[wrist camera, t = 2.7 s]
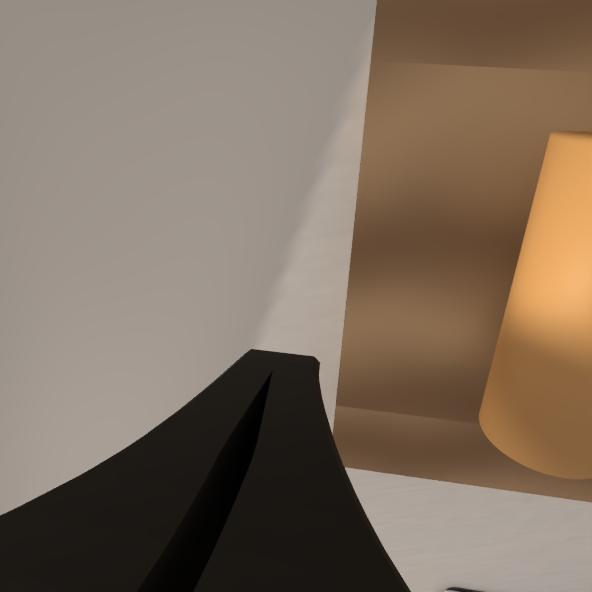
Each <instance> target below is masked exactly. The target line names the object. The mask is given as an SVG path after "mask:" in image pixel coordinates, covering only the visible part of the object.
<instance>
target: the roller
mask: <svg viewBox="0 0 592 592" xmlns="http://www.w3.org/2000/svg"><path fill="white" fill-rule="evenodd" d="M479 423H480V426H481V428H482V430H483V432H484V434H485V435H486V437H487V438H488V439H489V440H490V441H491V443H492V444H493V445H494V446H495V447H497V448H498V449H499V450H500V451H501V452H503V453H504V454H505V455H507V456H508V457H510V458H511V459H513V460H515V461H516V462H518V463H520V464H522V465H524V466H526V467H528V468H530V469H533V470H535V471H538V472H541V473H544V474H547V475H551V476H555V477H560V478H566V479H591V478H592V132H588V131H559V132H552V133H550V137H549V141H548V144H547V148H546V152H545V156H544V160H543V164H542V168H541V172H540V176H539V180H538V184H537V188H536V192H535V196H534V200H533V203H532V207H531V211H530V215H529V219H528V223H527V227H526V231H525V235H524V239H523V243H522V247H521V251H520V255H519V259H518V263H517V266H516V270H515V274H514V278H513V282H512V286H511V290H510V294H509V298H508V302H507V306H506V310H505V314H504V318H503V322H502V325H501V329H500V333H499V337H498V341H497V345H496V349H495V353H494V357H493V361H492V365H491V369H490V373H489V377H488V381H487V385H486V388H485V392H484V396H483V400H482V404H481V408H480V412H479Z"/></svg>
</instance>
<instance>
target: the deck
mask: <svg viewBox="0 0 592 592" xmlns="http://www.w3.org/2000/svg"><path fill="white" fill-rule="evenodd" d="M559 131H588V132H592V0H377V6H376V16H375V26H374V36H373V46H372V55H371V65H370V75H369V85H368V95H367V104H366V114H365V124H364V134H363V144H362V154H361V163H360V173H359V183H358V193H357V203H356V212H355V222H354V232H353V242H352V252H351V261H350V271H349V281H348V291H347V301H346V311H345V320H344V330H343V340H342V350H341V360H340V369H339V379H338V389H337V399H336V409H335V419H334V428H333V438H334V441H335V444H336V447H337V450H338V452H339V455H340V457H341V460H342V463H343V465H344V467H348V468H355V469H362V470H369V471H376V472H383V473H390V474H397V475H404V476H411V477H418V478H425V479H432V480H439V481H446V482H453V483H460V484H467V485H474V486H481V487H488V488H495V489H502V490H509V491H516V492H523V493H530V494H537V495H544V496H551V497H558V498H565V499H572V500H579V501H586V502H592V478H591V479H566V478H560V477H555V476H551V475H547V474H544V473H541V472H538V471H535V470H533V469H530V468H528V467H526V466H524V465H522V464H520V463H518V462H516V461H515V460H513V459H511V458H510V457H508V456H507V455H505V454H504V453H503V452H501V451H500V450H499V449H498V448H497V447H495V446H494V445H493V444H492V443H491V441H490V440H489V439H488V438H487V437H486V435H485V434H484V432H483V430H482V428H481V426H480V423H479V412H480V408H481V404H482V400H483V396H484V392H485V388H486V385H487V381H488V377H489V373H490V369H491V365H492V361H493V357H494V353H495V349H496V345H497V341H498V337H499V333H500V329H501V325H502V322H503V318H504V314H505V310H506V306H507V302H508V298H509V294H510V290H511V286H512V282H513V278H514V274H515V270H516V266H517V263H518V259H519V255H520V251H521V247H522V243H523V239H524V235H525V231H526V227H527V223H528V219H529V215H530V211H531V207H532V203H533V200H534V196H535V192H536V188H537V184H538V180H539V176H540V172H541V168H542V164H543V160H544V156H545V152H546V148H547V144H548V141H549V137H550V133H552V132H559Z"/></svg>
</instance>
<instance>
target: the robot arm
mask: <svg viewBox="0 0 592 592" xmlns="http://www.w3.org/2000/svg"><path fill="white" fill-rule="evenodd" d="M319 367H320V362H319V361H318V360H317V359H316V358H315V357H313V356H305V355H297V354H288V353H280V352H271V351H263V350H255V349H251V350H249V351H248V352H247V353H245V354H244V355H243V356H242V357H241V358H240V359H239V360H237V361H236V362H235V363H234V364H233V365H232V366H231V367H230V368H228V369H227V370H226V371H225V372H224V373H223V374H222V375H221V376H220V377H218V378H217V379H216V380H215V381H214V382H213V383H211V384H210V385H209V386H208V387H207V388H205V389H204V390H203V391H202V392H201V393H199V394H198V395H197V396H196V397H194V398H193V399H192V400H191V401H190V402H188V403H187V404H186V405H185V406H183V407H182V408H181V409H180V410H178V411H177V412H176V413H174V414H173V415H172V416H170V417H169V418H168V419H166V420H165V421H163V422H162V423H161V424H159V425H158V426H157V427H155V428H154V429H153V430H151V431H150V432H148V434H146V435H144V436H143V437H141V438H140V439H139V440H137V441H136V442H134V443H133V444H131V445H130V446H128V447H126V448H125V449H123V450H122V451H120V452H119V453H117V454H115V455H113V456H112V457H110V458H109V459H107V460H105V461H104V462H102V463H100V464H99V465H97V466H95V467H94V468H92V469H90V470H88V471H87V472H85V473H83V474H81V475H80V476H78V477H76V478H74V479H72V480H70V481H68V482H66V483H64V484H62V485H60V486H58V487H56V488H54V489H52V490H51V491H49V492H47V493H45V494H43V495H41V496H39V497H37V498H35V499H33V500H31V501H29V502H27V503H25V504H23V505H21V506H20V507H18V508H15V509H14V510H11V511H9V512H7V513H5V514H3V515H0V592H411V591H410V590H409V588H408V586H407V585H406V583H405V582H404V580H403V578H402V577H401V575H400V573H399V572H398V570H397V569H396V567H395V565H394V564H393V562H392V560H391V559H390V557H389V556H388V554H387V552H386V551H385V549H384V547H383V545H382V544H381V542H380V540H379V538H378V536H377V534H376V533H375V531H374V529H373V527H372V525H371V523H370V521H369V519H368V518H367V516H366V514H365V512H364V510H363V507H362V505H361V503H360V501H359V499H358V497H357V495H356V493H355V491H354V489H353V486H352V484H351V482H350V480H349V477H348V475H347V473H346V470H345V468H344V465H343V463H342V460H341V457H340V455H339V452H338V450H337V447H336V444H335V441H334V438H333V435H332V432H331V429H330V426H329V422H328V419H327V415H326V412H325V408H324V404H323V400H322V395H321V389H320V383H319ZM444 592H459V591H453V590H447V591H444Z"/></svg>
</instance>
